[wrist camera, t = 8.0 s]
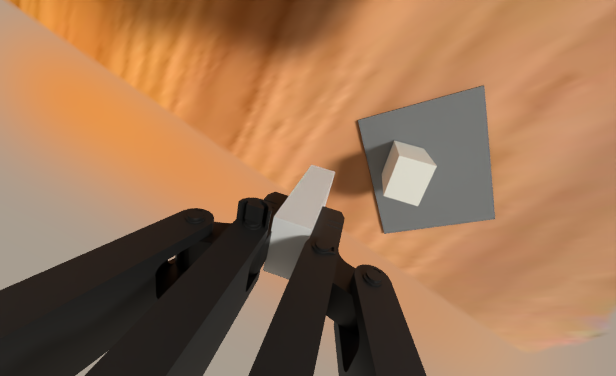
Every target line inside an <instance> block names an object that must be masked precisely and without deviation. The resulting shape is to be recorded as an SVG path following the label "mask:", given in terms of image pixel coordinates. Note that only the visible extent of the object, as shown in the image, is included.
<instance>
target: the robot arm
mask: <svg viewBox="0 0 616 376" xmlns="http://www.w3.org/2000/svg"><path fill="white" fill-rule="evenodd" d="M334 175H335V172H334V171H331V170H328V169H324V168H321V167H318V166H314V165H311V166H310V168H309V169H308V170H307V172H306V173H305V174H304V176H303V177H302V179H301V180H300V181H299V183H298V184H297V185H296V187H295V188H294V190H293V191H292V192H291V194H290V195H289V196H287V195H284V194H281V193H278V192H274V193H271V194H268V195H267V196H266V197H265V198H264V200H262V199H258V198H245V199H242V200H240V201H239V203H238V211H237V219H236V220H235V221H234V222H233V223H220V222H214V217H213V214H211V213H210V212H209V211H207V210H204V209H198V208H194V209H187V210H183V211H181V212H179V213H176V214H174V215H172V216H169V217H167V218H165V219H163V220H160V221H158V222H156V223H154V224H151V225H149V226H147V227H145V228H142V229H140V230H137V231H135V232H133V233H131V234H128V235H126V236H124V237H121V238H119V239H117V240H115V241H113V242H110V243H108V244H105V245H103V246H101V247H99V248H96V249H94V250H92V251H89V252H87V253H85V254H82V255H80V256H78V257H76V258H73V259H71V260H69V261H66V262H64V263H62V264H60V265H57V266H55V267H53V268H50V269H48V270H46V271H44V272H41V273H39V274H37V275H34V276H32V277H30V278H28V279H25V280H23V281H21V282H19V283H16V284H14V285H11V286H9V287H7V288H5V289H3V290H0V376H75V375H77V374H78V373H79V372H80V371H82V370H83V369H85V368H86V367H87V366H89V365H90V364H91V363H93V362H94V361H95V360H97V359H98V358H99V357H100V356H102V355H103V354H104V353H106V352H107V351H108V350H109V351H108V352H107V353H106V354H105V355H104V356H103V357H102V358H101V359H100V360H99V361H98V362H97V363H96V364H95V365H94V366H93V367H92V368H91V369H90V370H89V371H88V373H87V374H86V375H85V376H203V374H204V373H205V371H206V369H207V367H208V366H209V364H210V362H211V360H212V359H213V357H214V355H215V353H216V352H217V350H218V348H219V346H220V344H221V343H222V341H223V339H224V338H225V336H226V334H227V332H228V331H229V329H230V327H231V325H232V324H233V322H234V320H235V319H236V317H237V315H238V313H239V311H240V310H241V308H242V306H243V305H244V303H245V301H246V299H247V298H248V296H249V294H250V292H251V291H252V289H253V287H254V285H255V284H256V282H257V280H258V278H259V273H260V269H261V267H262V266H263V264H264V268H263V270H264V271H266V272H269V273H272V274H275V275H278V276H280V277H283V278H286V279H289V282H288V284H287V286H286V289H285V291H284V293H283V296H282V298H281V300H280V303H279V305H278V308H277V310H276V312H275V314H274V317H273V319H272V322H271V324H270V326H269V329H268V331H267V333H266V336H265V338H264V340H263V343H262V345H261V347H260V350H259V352H258V354H257V357H256V359H255V361H254V364H253V366H252V369H251V371H250V373H249V376H313V374H314V370H315V365H316V360H317V355H318V350H319V345H320V341H321V336H322V331H323V326H324V322H325V317H326V316H328V317H329V318H330V319H332V320H333V321H334V331H335V342H336V352H337V362H338V372H339V376H426V373H425V370H424V368H423V365H422V362H421V360H420V357H419V355H418V352H417V349H416V347H415V344H414V341H413V339H412V336H411V333H410V331H409V328H408V326H407V323H406V320H405V318H404V315H403V312H402V310H401V307H400V304H399V302H398V299H397V296H396V294H395V291H394V288H393V286H392V283H391V281H390V279H389V277H388V276H387V275H386V274H385V273H384V272H383V271H382V270H380V269H378V268H377V267H374V266H371V265H360V266H358V267H357V268H354V267H352V266H351V265H349V264H347V263H346V262H345V261H344V260H343V259H342V258H341V256H340V255H339V252H338V247H339V242H340V238H341V233H342V228H343V223H344V219H345V218H344V216H343V214H342V212H339V211H336V210H333V209H330V208H327V207H325V205H326V202H327V198H328V195H329V192H330V188H331V185H332V182H333V178H334ZM173 256H175V258H174V259H172V260H170V261H168V259H169V258H171V257H173ZM264 262H265V263H264Z"/></svg>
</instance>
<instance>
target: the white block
mask: <svg viewBox="0 0 616 376" xmlns="http://www.w3.org/2000/svg"><path fill="white" fill-rule="evenodd" d="M436 167H437V166H436V164H435V163H434V162H433V160H432V159H431V158H430V156H429V155H428V153H427V152H426V151H425V149H424V148H421V147H417V146H414V145H410V144H406V143H403V142H399V141H395V140H394V142H393V144H392V147H391V150H390V152H389V155H388V158H387V160H386V163H385V166H384V168H383V171H382V184H383V196H385V197H389V198H392V199H395V200H399V201H402V202H405V203H408V204H412V205H415V206H418V205H419V203H420V201H421V199H422V197H423V195H424V193H425V190H426V188H427V186H428V184H429V182H430V180H431V178H432V175H433V173H434V171H435V169H436Z"/></svg>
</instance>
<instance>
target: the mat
mask: <svg viewBox="0 0 616 376" xmlns="http://www.w3.org/2000/svg"><path fill="white" fill-rule="evenodd" d="M358 123H359V127H360V131H361V136H362V140H363V144H364V148H365V153H366V157H367V161H368V166H369V170H370V174H371V178H372V183H373V187H374V191H375V195H376V200H377V204H378V208H379V213H380V217H381V221H382V225H383V230H384V234H386V233H394V232H401V231H409V230H416V229H424V228H431V227H439V226H446V225H454V224H461V223H469V222H476V221H484V220H491V219H495V212H494V200H493V187H492V175H491V163H490V150H489V138H488V126H487V113H486V101H485V89H484V86H479V87H476V88H472V89H469V90H465V91H461V92H458V93H454V94H450V95H447V96H443V97H440V98H436V99H432V100H429V101H425V102H421V103H418V104H414V105H411V106H407V107H403V108H400V109H396V110H392V111H389V112H385V113H382V114H378V115H374V116H371V117H367V118H363V119H360V120H358ZM394 140H395V141H399V142H403V143H406V144H410V145H414V146H417V147H421V148H424V149H425V151H426V152H427V153H428V155H429V156H430V158H431V159H432V160H433V162H434V163H435V164H436V166H437V167H436V169H435V171H434V173H433V175H432V178H431V180H430V182H429V184H428V186H427V188H426V190H425V193H424V195H423V197H422V199H421V201H420V203H419V205H418V206H415V205H412V204H408V203H405V202H402V201H399V200H395V199H392V198H389V197H385V196H383V184H382V171H383V168H384V166H385V163H386V160H387V158H388V155H389V152H390V150H391V147H392V144H393V142H394Z"/></svg>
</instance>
